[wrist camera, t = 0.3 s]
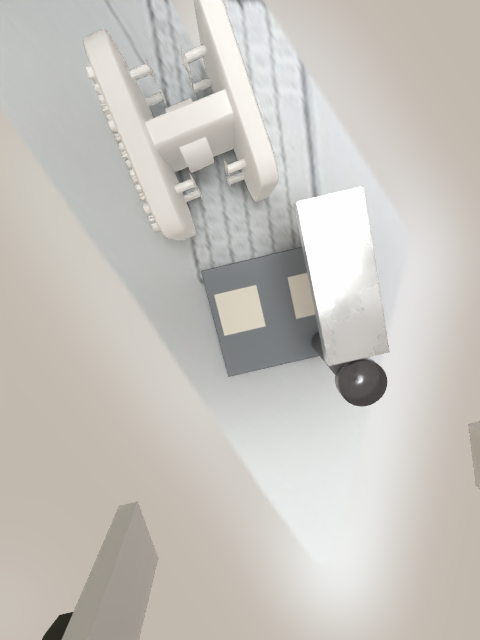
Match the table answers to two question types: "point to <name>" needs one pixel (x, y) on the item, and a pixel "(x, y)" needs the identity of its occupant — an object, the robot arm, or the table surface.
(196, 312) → the table surface
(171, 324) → the table surface
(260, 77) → the table surface
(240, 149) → the cable organizer
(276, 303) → the label board
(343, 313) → the grey lever handle
